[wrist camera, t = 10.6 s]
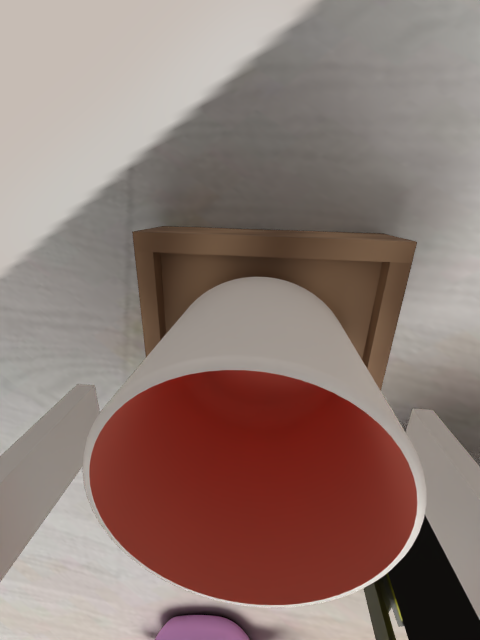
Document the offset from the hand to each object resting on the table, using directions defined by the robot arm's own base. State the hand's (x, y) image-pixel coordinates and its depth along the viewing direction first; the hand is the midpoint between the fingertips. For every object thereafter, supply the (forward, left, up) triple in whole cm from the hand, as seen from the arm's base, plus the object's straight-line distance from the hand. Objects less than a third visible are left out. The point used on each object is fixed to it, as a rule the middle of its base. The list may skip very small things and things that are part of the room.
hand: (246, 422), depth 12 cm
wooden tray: (0, 0, -10) cm, 10 cm away
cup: (0, 0, -6) cm, 6 cm away
